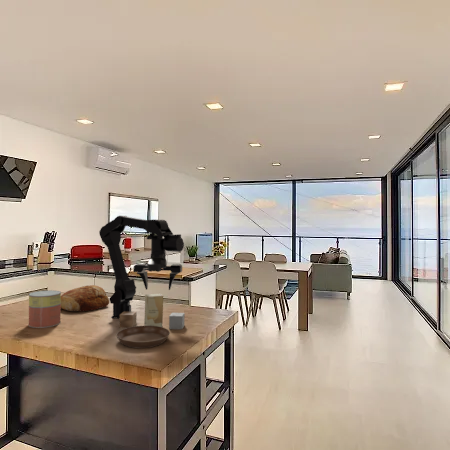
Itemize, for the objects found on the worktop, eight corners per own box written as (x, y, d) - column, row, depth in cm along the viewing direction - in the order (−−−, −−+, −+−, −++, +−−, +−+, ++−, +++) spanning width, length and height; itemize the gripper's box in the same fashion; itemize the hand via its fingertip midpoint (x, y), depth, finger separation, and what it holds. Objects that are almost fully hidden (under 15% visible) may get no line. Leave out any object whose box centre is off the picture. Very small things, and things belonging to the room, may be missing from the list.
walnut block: (119, 327, 138) (119, 314, 138) (123, 324, 143) (123, 311, 143) (132, 328, 137) (132, 315, 137) (136, 324, 142) (136, 311, 142)
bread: (110, 307, 171) (110, 285, 171) (76, 315, 156) (76, 291, 155) (83, 301, 182) (83, 281, 182) (48, 308, 167) (48, 286, 167)
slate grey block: (169, 329, 137) (169, 315, 137) (171, 325, 142) (171, 312, 142) (182, 329, 136) (182, 316, 136) (184, 325, 141) (184, 312, 141)
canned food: (54, 318, 150) (54, 289, 149) (65, 324, 142) (65, 293, 141) (24, 323, 142) (24, 292, 142) (33, 329, 134) (34, 297, 134)
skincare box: (146, 329, 136) (147, 296, 136) (143, 326, 140) (144, 294, 140) (163, 327, 139) (163, 295, 139) (160, 324, 143) (160, 293, 143)
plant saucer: (173, 333, 132) (173, 325, 132) (164, 351, 114) (164, 341, 114) (125, 333, 132) (125, 324, 132) (108, 350, 114) (108, 340, 114)
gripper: (129, 252, 138) (129, 293, 138) (178, 252, 137) (178, 294, 137) (137, 249, 149) (137, 287, 149) (182, 250, 148) (182, 288, 148)
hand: (158, 289), depth 146 cm, fingers open, 9 cm apart
